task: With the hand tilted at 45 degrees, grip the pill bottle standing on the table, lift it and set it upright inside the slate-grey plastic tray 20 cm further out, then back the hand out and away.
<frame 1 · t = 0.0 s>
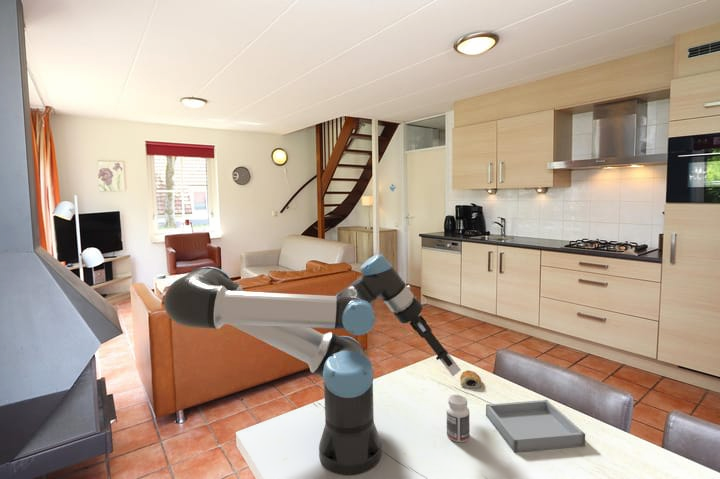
hand: (448, 361, 107), 15 cm above the table, tool tilted 35°, fingers open, 13 cm apart
pastry: (470, 384, 126), on the table
pill bottle: (457, 436, 98), on the table
tray: (531, 429, 100), on the table
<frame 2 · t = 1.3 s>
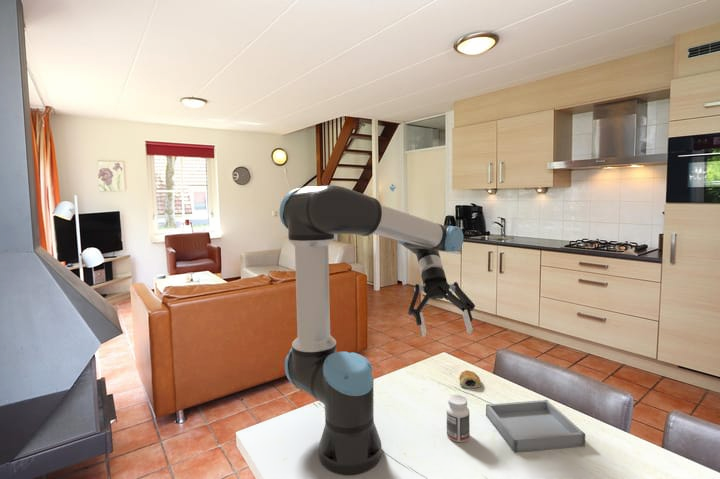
hand: (447, 333, 110), 22 cm above the table, tool tilted 45°, fingers open, 13 cm apart
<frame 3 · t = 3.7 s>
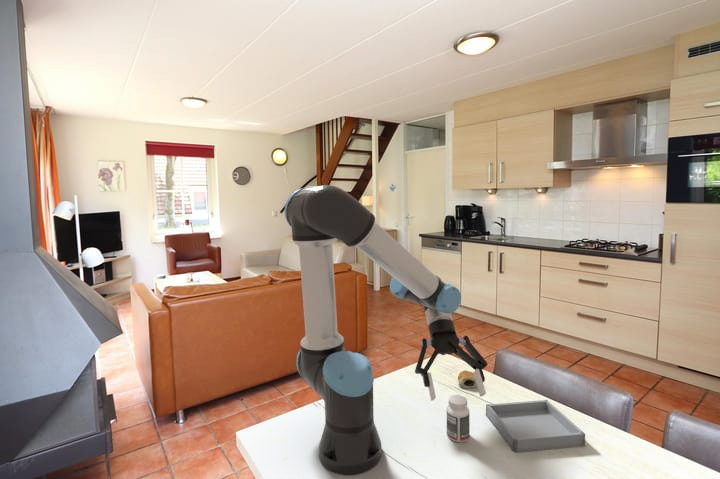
hand: (458, 397, 101), 8 cm above the table, tool tilted 45°, fingers open, 13 cm apart
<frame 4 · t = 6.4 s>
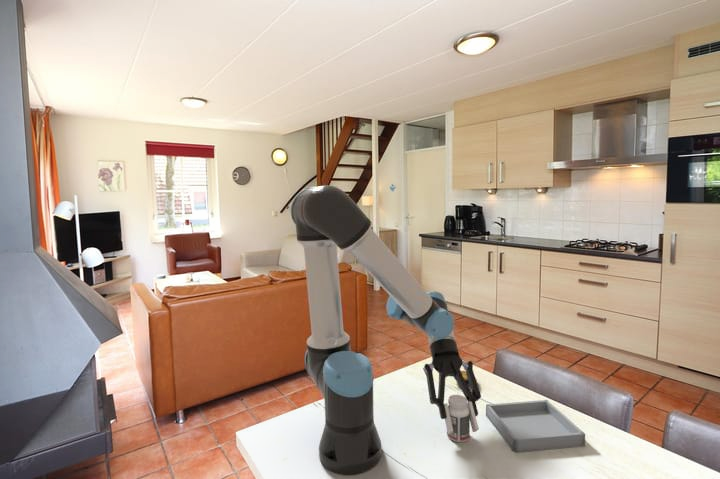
hand: (463, 431, 94), 4 cm above the table, tool tilted 45°, fingers closed on pill bottle, 6 cm apart
pill bottle: (457, 436, 98), on the table, touching gripper
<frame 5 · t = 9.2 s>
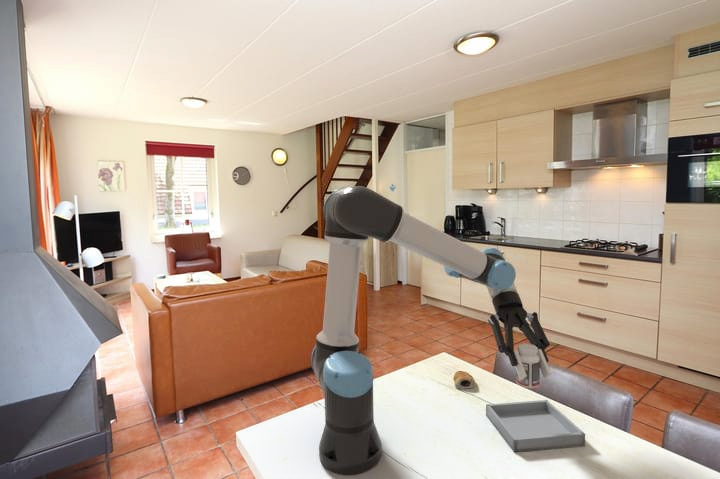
hand: (535, 377, 95), 16 cm above the table, tool tilted 45°, fingers closed on pill bottle, 6 cm apart
pill bottle: (527, 384, 99), point 12 cm above the table, touching gripper
when the fingers open (6 cm above the table, at t = 12.4 s): pill bottle drops 1 cm, resting on tray.
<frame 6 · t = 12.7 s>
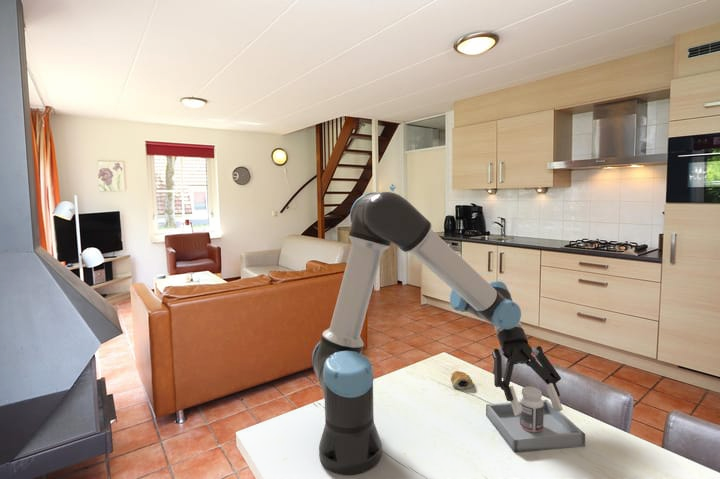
hand: (538, 412, 96), 7 cm above the table, tool tilted 45°, fingers open, 10 cm apart
pill bottle: (531, 427, 100), point 1 cm above the table, touching tray
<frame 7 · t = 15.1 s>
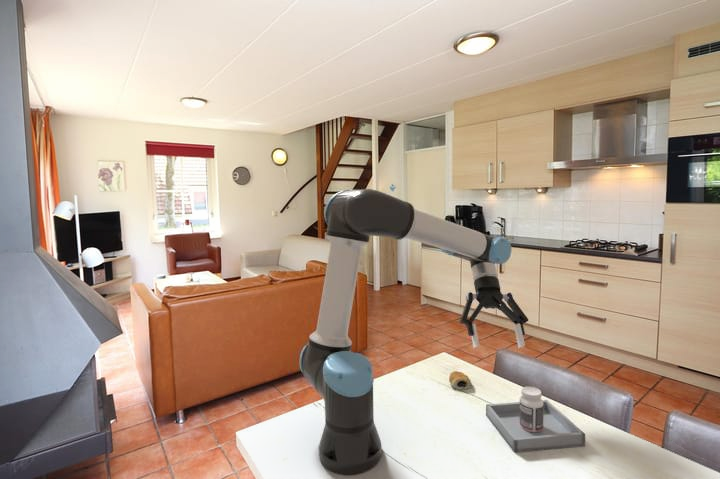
hand: (499, 347, 110), 18 cm above the table, tool tilted 35°, fingers open, 13 cm apart
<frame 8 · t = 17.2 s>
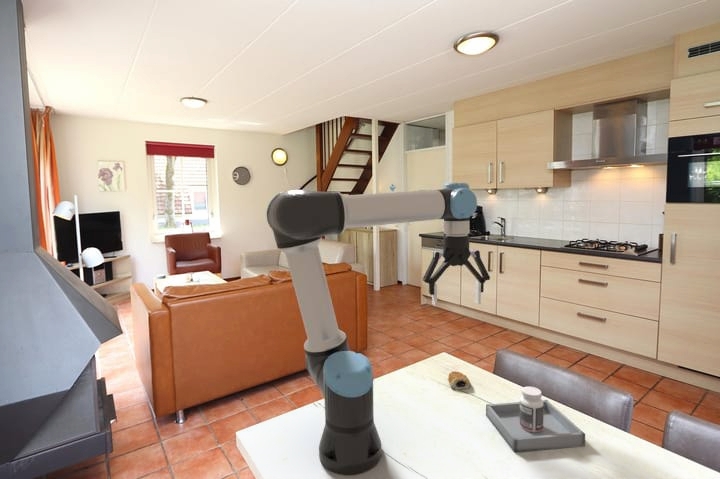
hand: (456, 304, 117), 29 cm above the table, tool pointing down, fingers open, 13 cm apart
at the end: pill bottle inside the target area on the tray (0.2 cm from its centre), point 0.6 cm above the tray's base; pill bottle tilted 0°; the gripper is holding nothing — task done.
